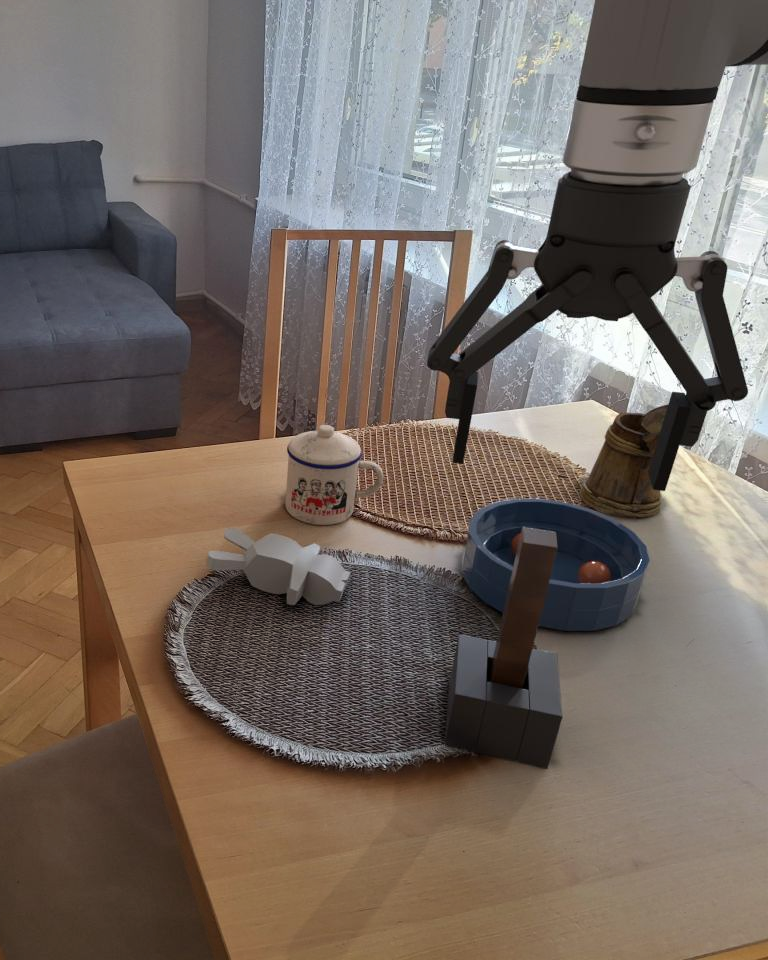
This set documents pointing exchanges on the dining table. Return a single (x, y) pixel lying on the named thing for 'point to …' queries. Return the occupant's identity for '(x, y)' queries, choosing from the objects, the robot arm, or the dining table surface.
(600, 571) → the bead
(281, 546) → the bunny figurine
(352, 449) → the teacup with lid
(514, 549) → the bead
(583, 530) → the bowl
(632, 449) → the wooden mug
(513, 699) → the holder
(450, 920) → the dining table surface
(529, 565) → the stick
